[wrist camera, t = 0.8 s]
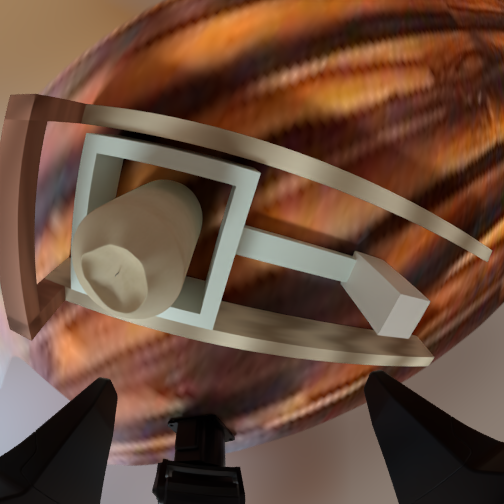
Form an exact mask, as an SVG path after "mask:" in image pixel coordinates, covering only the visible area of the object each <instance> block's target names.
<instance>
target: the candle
mask: <svg viewBox="0 0 504 504" xmlns="http://www.w3.org/2000/svg"><path fill="white" fill-rule="evenodd" d="M202 220H203V218H202V209H201V206H200V203H199V201H198V199H197V198H196V196H195V195H194V193H193V192H192V191H191V190H190V189H189V188H188V187H186V186H185V185H183V184H181V183H179V182H176V181H173V180H165V179H163V180H156V181H152V182H150V183H147V184H145V185H142V186H140V187H138V188H136V189H134V190H132V191H130V192H128V193H126V194H123V195H121V196H119V197H117V198H115V199H113V200H111V201H109V202H107V203H106V204H104V205H102V206H100V207H98V208H96V209H95V210H93V211H91V212H90V213H89V214H88V215H87V216H85V218H84V219H83V220H82V221H81V223H80V224H79V226H78V228H77V230H76V232H75V234H74V238H73V243H72V262H73V267H74V271H75V273H76V276H77V278H78V280H79V283H80V284H81V286H82V288H83V289H84V291H85V292H86V293H87V295H88V296H89V297H90V298H91V299H92V300H93V301H94V302H95V303H96V304H97V305H99V306H100V307H101V308H103V309H104V310H106V311H108V312H110V313H112V314H115V315H117V316H120V317H124V318H129V319H146V318H150V317H154V316H156V315H159V314H161V313H162V312H164V311H165V310H167V309H168V308H169V307H170V306H171V305H172V304H173V303H174V302H175V301H176V299H177V298H178V296H179V294H180V292H181V289H182V286H183V283H184V280H185V277H186V274H187V271H188V268H189V265H190V261H191V258H192V255H193V252H194V249H195V246H196V243H197V240H198V237H199V234H200V231H201V227H202Z"/></svg>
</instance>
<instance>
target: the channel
mask: <svg viewBox="0 0 504 504" xmlns="http://www.w3.org/2000/svg"><path fill="white" fill-rule="evenodd" d="M47 121H56V122H70V123H81V124H89V125H96V126H103V127H110V128H116V129H122V130H128V131H133V132H139V133H144V134H149V135H154V136H159V137H164V138H168V139H173V140H177V141H182V142H186V143H190V144H194V145H198V146H202V147H206V148H210V149H214V150H218V151H221V152H225V153H229V154H232V155H236V156H239V157H243V158H246V159H249V160H253V161H256V162H259V163H263V164H266V165H269V166H272V167H275V168H278V169H281V170H284V171H287V172H290V173H293V174H296V175H299V176H302V177H305V178H307V179H310V180H313V181H316V182H319V183H321V184H324V185H327V186H329V187H332V188H334V189H337V190H340V191H342V192H345V193H347V194H350V195H352V196H355V197H357V198H360V199H362V200H364V201H367V202H369V203H371V204H374V205H376V206H378V207H381V208H383V209H385V210H388V211H390V212H392V213H394V214H396V215H399V216H401V217H403V218H405V219H407V220H409V221H411V222H414V223H416V224H418V225H420V226H422V227H424V228H426V229H428V230H430V231H432V232H434V233H436V234H438V235H440V236H442V237H443V238H445V239H447V240H449V241H451V242H453V243H455V244H457V245H458V246H460V247H462V248H464V249H466V250H467V251H469V252H471V253H473V254H474V255H476V256H478V257H480V258H481V259H483V260H485V261H486V262H488V260H489V257H490V255H491V252H492V250H491V249H489V248H488V247H486V246H485V245H483V244H482V243H480V242H479V241H477V240H476V239H474V238H473V237H471V236H470V235H468V234H466V233H465V232H463V231H462V230H460V229H458V228H457V227H455V226H453V225H452V224H450V223H448V222H447V221H445V220H443V219H442V218H440V217H438V216H436V215H435V214H433V213H431V212H429V211H427V210H426V209H424V208H422V207H420V206H418V205H416V204H414V203H412V202H411V201H409V200H407V199H405V198H403V197H401V196H399V195H397V194H395V193H393V192H391V191H389V190H387V189H385V188H382V187H380V186H378V185H376V184H374V183H372V182H370V181H367V180H365V179H363V178H361V177H358V176H356V175H354V174H351V173H349V172H347V171H344V170H342V169H340V168H337V167H335V166H332V165H330V164H327V163H325V162H322V161H320V160H317V159H314V158H312V157H309V156H306V155H304V154H301V153H298V152H295V151H293V150H290V149H287V148H284V147H281V146H278V145H275V144H272V143H269V142H266V141H263V140H259V139H256V138H253V137H250V136H246V135H243V134H239V133H236V132H232V131H229V130H225V129H221V128H217V127H214V126H210V125H206V124H201V123H197V122H193V121H189V120H184V119H179V118H175V117H170V116H165V115H160V114H154V113H149V112H143V111H137V110H130V109H124V108H116V107H109V106H100V105H91V104H84V103H79V102H75V101H70V100H65V99H60V98H55V97H50V96H44V95H38V94H21V95H20V94H19V95H10V99H9V102H8V107H7V111H6V116H5V120H4V124H3V130H2V135H1V141H0V283H1V289H2V295H3V300H4V305H5V310H6V314H7V319H8V323H9V327H10V329H11V330H13V331H14V332H16V333H18V334H20V335H22V336H24V337H26V338H27V339H29V340H31V341H32V340H33V338H34V337H35V336H36V335H37V333H38V332H39V331H40V330H41V328H42V327H43V326H44V325H45V323H46V322H47V321H48V320H49V319H50V317H51V316H52V315H53V314H54V313H55V311H56V310H57V309H58V308H59V307H60V306H61V304H62V303H63V302H64V301H65V300H67V301H69V302H72V303H75V304H77V305H80V306H83V307H85V308H88V309H91V310H94V311H97V312H100V313H103V314H106V315H109V316H112V317H115V318H118V319H121V320H124V321H128V322H131V323H134V324H138V325H141V326H144V327H148V328H151V329H155V330H159V331H162V332H166V333H170V334H174V335H178V336H182V337H186V338H190V339H194V340H199V341H203V342H208V343H212V344H217V345H222V346H227V347H232V348H237V349H242V350H248V351H254V352H259V353H265V354H272V355H278V356H285V357H292V358H300V359H308V360H317V361H326V362H337V363H349V364H363V365H383V366H429V364H430V363H431V361H432V360H433V359H434V356H433V355H432V354H431V353H430V351H429V350H428V349H427V348H426V346H425V345H424V344H423V343H422V342H421V340H420V339H419V338H418V337H417V336H415V335H411V336H410V337H409V339H406V338H397V337H389V336H381V335H377V334H376V332H375V331H374V330H370V329H364V328H357V327H351V326H345V325H339V324H333V323H327V322H321V321H316V320H310V319H305V318H300V317H294V316H289V315H284V314H279V313H274V312H270V311H265V310H260V309H256V308H251V307H246V306H242V305H237V304H233V303H229V302H224V301H221V303H220V306H219V310H218V313H217V316H216V320H215V323H214V326H213V330H209V329H205V328H200V327H196V326H192V325H188V324H184V323H180V322H176V321H172V320H168V319H164V318H161V317H157V316H154V317H150V318H146V319H129V318H124V317H120V316H117V315H115V314H112V313H110V312H108V311H106V310H104V309H103V308H101V307H100V306H99V305H97V304H96V303H95V302H94V301H93V300H92V299H91V298H90V297H89V296H88V295H86V294H83V293H81V292H78V291H75V290H72V289H71V258H69V257H68V258H67V259H66V260H65V261H64V262H62V263H61V264H60V265H59V266H58V267H56V268H55V269H54V270H53V271H52V272H51V273H50V274H48V275H47V276H46V277H45V278H44V279H43V280H42V281H40V282H39V283H38V284H37V282H36V270H35V246H34V225H35V202H36V189H37V179H38V171H39V163H40V157H41V151H42V145H43V140H44V134H45V130H46V125H47Z"/></svg>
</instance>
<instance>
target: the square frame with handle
mask: <svg viewBox="0 0 504 504" xmlns="http://www.w3.org/2000/svg"><path fill="white" fill-rule="evenodd" d="M123 159H129V160H133V161H138V162H143V163H147V164H152V165H156V166H160V167H165V168H169V169H173V170H177V171H181V172H185V173H189V174H193V175H197V176H201V177H205V178H208V179H212V180H216V181H220V182H223V183H227V184H230V185H233V186H232V189H231V192H230V196H229V199H228V202H227V206H226V209H225V212H224V216H223V219H222V223H221V226H220V230H219V233H218V237H217V240H216V244H215V248H214V251H213V255H212V259H211V262H210V266H209V270H208V273H207V277H206V281H204V280H200V279H196V278H192V277H188V276H186V277H185V280H184V283H183V286H182V289H181V292H180V294H179V296H178V298H177V299H176V301H175V302H174V303H173V304H172V305H171V306H170V307H169V308H168V309H167V310H165V311H164V312H162V313H161V314H159V315H156V316H157V317H161V318H164V319H168V320H172V321H176V322H180V323H184V324H188V325H192V326H196V327H200V328H205V329H209V330H213V326H214V323H215V320H216V316H217V313H218V310H219V306H220V303H221V300H222V296H223V293H224V290H225V286H226V283H227V280H228V276H229V273H230V270H231V267H232V263H233V260H234V257H235V254H236V255H240V256H244V257H248V258H252V259H255V260H259V261H263V262H267V263H271V264H275V265H279V266H283V267H287V268H290V269H294V270H298V271H302V272H306V273H310V274H314V275H318V276H322V277H326V278H330V279H334V280H338V281H341V283H340V284H341V285H342V286H343V288H344V289H345V290H346V292H347V293H348V295H349V296H350V297H351V299H352V300H353V301H354V303H355V304H356V305H357V307H358V308H359V310H360V311H361V312H362V314H363V315H364V317H365V318H366V319H367V321H368V322H369V324H370V325H371V326H372V328H373V329H374V331H375V332H376V334H377V335H381V336H389V337H397V338H406V339H409V337H410V336H411V334H412V333H413V331H414V329H415V328H416V326H417V324H418V323H419V321H420V319H421V318H422V316H423V314H424V312H425V311H426V309H427V307H428V305H429V303H430V301H429V300H428V299H427V298H426V297H425V296H424V295H423V294H422V293H421V292H420V291H418V290H417V289H416V288H415V287H414V286H413V285H412V284H411V283H409V282H408V281H407V280H406V279H405V278H404V277H403V276H402V275H400V274H399V273H398V272H397V271H396V270H395V269H393V268H392V267H391V266H390V265H389V264H387V263H386V262H385V261H384V260H382V259H379V258H376V257H373V256H370V255H367V254H364V253H361V252H358V251H355V252H354V254H353V256H350V255H347V254H344V253H340V252H337V251H334V250H330V249H327V248H324V247H320V246H317V245H314V244H310V243H307V242H303V241H300V240H296V239H293V238H290V237H286V236H283V235H279V234H276V233H272V232H269V231H265V230H262V229H258V228H254V227H251V226H247V225H245V222H246V218H247V215H248V212H249V209H250V206H251V203H252V199H253V196H254V193H255V190H256V187H257V184H258V181H259V178H260V174H261V173H260V172H259V171H257V170H256V169H255V168H253V167H250V166H247V165H243V164H240V163H236V162H233V161H229V160H226V159H222V158H218V157H215V156H211V155H207V154H203V153H199V152H195V151H191V150H187V149H183V148H179V147H174V146H170V145H165V144H161V143H156V142H151V141H146V140H141V139H136V138H131V137H126V136H120V135H111V134H93V133H86V137H85V142H84V146H83V151H82V156H81V162H80V167H79V173H78V180H77V186H76V194H75V202H74V212H73V223H72V239H71V289H72V290H75V291H78V292H81V293H83V294H86V295H87V293H86V292H85V291H84V289H83V288H82V286H81V284H80V283H79V280H78V278H77V276H76V273H75V271H74V267H73V262H72V243H73V238H74V234H75V232H76V230H77V228H78V226H79V224H80V223H81V221H82V220H83V219H84V218H85V216H87V215H88V214H89V213H90V212H91V211H93V210H95V209H96V208H98V207H100V206H102V205H104V204H106V203H107V202H109V201H111V200H113V199H115V198H116V194H117V188H118V183H119V178H120V173H121V168H122V164H123Z"/></svg>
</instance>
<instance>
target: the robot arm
mask: <svg viewBox="0 0 504 504" xmlns="http://www.w3.org/2000/svg"><path fill="white" fill-rule="evenodd" d="M364 393H365V397H366V401H367V405H368V409H369V413H370V417H371V421H372V425H373V428H374V431H375V434H376V437H377V439H378V442H379V445H380V448H381V451H382V454H383V456H384V459H385V462H386V465H387V468H388V471H389V474H390V477H391V480H392V483H393V486H394V490H395V493H396V496H397V499H398V502H399V504H504V442H500V441H498V440H495V439H493V438H491V437H489V436H487V435H484V434H482V433H480V432H478V431H476V430H474V429H472V428H470V427H468V426H467V425H465V424H463V423H462V422H460V421H458V420H456V419H455V418H454V417H451V416H450V415H449V414H447V413H446V412H444V411H443V410H441V409H439V408H438V407H436V406H435V405H433V404H432V403H430V402H429V401H427V400H426V399H424V398H423V397H421V396H420V395H418V394H417V393H415V392H413V391H412V390H411V389H409V388H408V387H406V386H405V385H403V384H402V383H400V382H399V381H397V380H396V379H394V378H393V377H391V376H390V375H388V374H387V373H385V372H384V371H382V370H378V371H373V372H371V373H370V375H369V377H368V380H367V382H366V384H365V387H364ZM116 407H117V393H116V391H115V388H114V386H113V384H112V382H111V380H110V379H108V378H101V377H100V378H98V379H96V380H95V381H94V382H93V383H91V384H90V385H89V386H88V387H87V388H86V389H84V390H83V391H82V392H81V393H80V394H78V395H77V396H76V397H75V398H74V399H73V400H71V401H70V402H69V403H68V404H67V405H65V406H64V407H63V408H62V409H61V410H59V411H58V412H57V413H56V414H55V415H54V416H52V417H51V418H50V419H49V420H48V421H46V422H45V423H44V424H43V425H42V426H41V427H40V428H38V429H37V430H36V432H33V433H32V434H31V435H30V436H29V437H27V438H26V439H25V440H24V441H22V442H21V443H20V444H18V445H17V446H16V447H14V448H13V449H11V450H10V451H8V452H7V453H5V454H4V455H2V456H1V457H0V504H100V499H101V493H102V487H103V481H104V476H105V471H106V465H107V460H108V456H109V451H110V446H111V442H112V437H113V431H114V422H115V414H116ZM168 426H169V427H170V428H171V429H172V430H173V431H174V432H175V433H176V441H175V458H174V461H169V460H168V459H163V462H162V463H158V467H157V473H156V478H155V482H154V485H153V490H152V491H153V494H154V495H155V496H156V497H157V500H158V504H245V492H244V486H243V481H242V475H241V470H240V467H225V442H228V441H233V440H235V437H234V435H233V434H232V433H231V432H230V431H229V430H228V429H227V428H226V427H225V426H224V424H223V423H222V422H221V421H220V420H219V419H218V418H217V417H216V416H215V415H207V416H201V417H195V418H189V419H182V420H174V421H169V422H168Z"/></svg>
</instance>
